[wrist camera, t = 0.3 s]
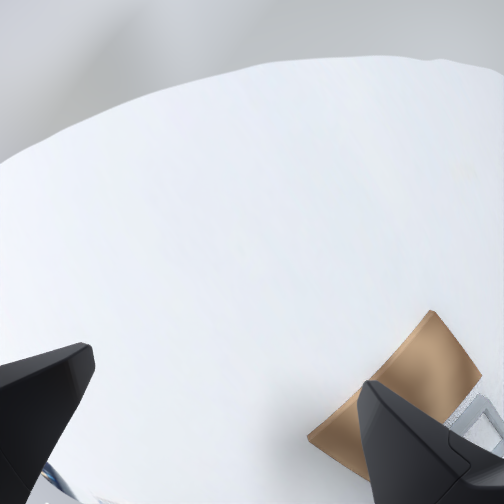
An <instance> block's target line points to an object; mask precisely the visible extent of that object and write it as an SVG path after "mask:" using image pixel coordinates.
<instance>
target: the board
mask: <svg viewBox="0 0 504 504" xmlns="http://www.w3.org/2000/svg"><path fill="white" fill-rule="evenodd" d="M481 377H482V374H481V373H480V372H479V370H478V369H477V367H476V366H475V364H474V363H473V361H472V360H471V359H470V357H469V356H468V354H467V353H466V352H465V350H464V349H463V347H462V346H461V345H460V343H459V342H458V341H457V339H456V338H455V337H454V335H453V334H452V333H451V331H450V330H449V329H448V327H447V326H446V325H445V324H444V322H443V321H442V320H441V318H440V317H439V316H438V315H437V313H436V312H435V311H431V310H429V312H428V313H427V314H426V315H425V317H424V318H423V319H422V321H421V322H420V323H419V324H418V325H417V327H416V328H415V329H414V330H413V332H412V333H411V334H410V335H409V336H408V338H407V339H406V340H405V341H404V342H403V343H402V345H401V346H400V347H399V348H398V349H397V350H396V351H395V353H394V354H393V355H392V356H391V357H390V358H389V359H388V360H387V361H386V362H385V364H384V365H383V366H382V367H381V368H380V369H379V370H378V371H377V372H376V373H375V374H374V375H373V376H372V377H371V378H370V379H369V380H377V381H379V382H380V383H382V384H383V385H385V386H386V387H388V388H389V389H391V390H392V391H393V392H395V393H396V394H398V395H399V396H401V397H402V398H404V399H405V400H407V401H408V402H410V403H411V404H413V405H414V406H416V407H417V408H419V409H420V410H422V411H423V412H425V413H426V414H428V415H429V416H431V417H432V418H434V419H435V420H437V421H438V422H440V423H441V424H443V423H444V422H445V421H446V420H447V419H448V417H449V416H450V415H451V414H452V413H453V412H454V411H455V409H456V408H457V407H458V406H459V405H460V404H461V402H462V401H463V400H464V399H465V397H466V396H467V395H468V394H469V392H470V391H471V390H472V389H473V387H474V386H475V385H476V383H477V382H478V381H479V379H480V378H481ZM361 389H362V387H361V388H360V389H359V390H358V391H357V392H356V393H355V394H354V395H353V396H352V397H351V398H350V399H349V400H348V401H347V402H346V403H344V404H343V405H342V406H341V407H340V408H339V409H338V410H337V411H336V412H335V413H333V414H332V415H331V416H330V417H329V418H328V419H327V420H325V421H324V422H323V423H322V424H321V425H320V426H318V427H317V428H316V429H315V430H314V431H312V432H311V433H310V434H309V435H307V437H308V440H309V442H310V443H312V444H313V445H315V446H316V447H317V448H319V449H320V450H322V451H323V452H325V453H326V454H327V455H329V456H330V457H332V458H333V459H335V460H336V461H338V462H339V463H341V464H342V465H344V466H345V467H347V468H348V469H350V470H352V471H353V472H355V473H356V474H358V475H359V476H361V477H363V478H364V479H366V480H368V481H369V482H370V478H369V474H368V469H367V465H366V461H365V456H364V452H363V448H362V443H361V436H360V427H359V419H358V411H357V400H358V397H359V394H360V391H361Z"/></svg>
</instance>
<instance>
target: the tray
mask: <svg viewBox="0 0 504 504" xmlns="http://www.w3.org/2000/svg"><path fill="white" fill-rule="evenodd" d="M483 412H484V413H485V414H486V415H487V417H488V418H489V420H490V421H491V422H492V424H493V425H494V427H495V428H496V430H497V431H498V432H499V434H500V435H501V437H502V438H503V439H502V440H501V441H500V443H499V444H498V445H497V446H496V447H495V449H494V450H493V451H492V452H491V453H493V454H495V455H497V456H499V457H501V458H502V457H503V456H504V422H503V420H502V419H501V417H500V415H499V414H498V412H497V411H496V409H495V408H494V406H493V405H492V403H491V402H490V400H489V399H488V398H486V397H484V396H483V395H481V394H478V395H477V396H476V398H475V399H474V400H473V401H472V403H471V404H470V405H469V406H468V408H467V409H466V410H465V411H464V412H463V414H462V415H461V416H460V417H459V418H458V419H457V420H456V422H455V423H454V424H453V425H452V426H451V427H450V428H449V430H452V431H453V432H455V433H457V434H458V435H460V436H461V437H463V435H464V434H465V433H466V432H467V431H468V430H469V429H470V428H471V426H472V425H473V424H474V423H475V422H476V420H477V419H478V418H479V417H480V416H481V414H482V413H483Z"/></svg>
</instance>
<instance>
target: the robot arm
mask: <svg viewBox="0 0 504 504" xmlns="http://www.w3.org/2000/svg"><path fill="white" fill-rule="evenodd" d="M94 371H95V361H94V355H93V350H92V347H91V346H90V345H89V344H85V343H82V342H80V343H76V344H73V345H70V346H66V347H63V348H60V349H56V350H53V351H50V352H46V353H43V354H40V355H36V356H33V357H29V358H26V359H22V360H19V361H15V362H12V363H8V364H5V365H1V366H0V504H25V503H26V501H27V499H28V497H29V495H30V493H31V492H30V491H32V489H33V487H34V485H35V483H36V481H37V479H38V477H39V475H40V473H41V471H42V469H43V467H44V466H45V464H46V462H47V460H48V458H49V456H50V454H51V453H52V451H53V449H54V447H55V445H56V443H57V442H58V440H59V438H60V436H61V435H62V433H63V431H64V429H65V428H66V426H67V424H68V422H69V421H70V419H71V417H72V416H73V414H74V412H75V410H76V409H77V407H78V405H79V403H80V401H81V399H82V397H83V395H84V393H85V390H86V388H87V386H88V384H89V382H90V380H91V377H92V375H93V373H94ZM357 411H358V419H359V427H360V436H361V443H362V448H363V452H364V456H365V461H366V465H367V469H368V474H369V478H370V483H371V487H372V492H373V497H374V501H375V504H504V459H503V458H501V457H499V456H497V455H495V454H493V453H491V452H489V451H487V450H485V449H483V448H481V447H479V446H477V445H475V444H473V443H472V442H470V441H468V440H466V439H465V438H463V437H461V436H460V435H458V434H457V433H455V432H453V431H452V430H449V428H447V427H446V426H444V425H443V424H441V423H440V422H438V421H437V420H435V419H434V418H432V417H431V416H429V415H428V414H426V413H425V412H423V411H422V410H420V409H419V408H417V407H416V406H414V405H413V404H411V403H410V402H408V401H407V400H405V399H404V398H402V397H401V396H399V395H398V394H396V393H395V392H393V391H392V390H391V389H389V388H388V387H386V386H385V385H383V384H382V383H380V382H379V381H377V380H366V381H365V382H364V383H363V386H362V389H361V391H360V394H359V397H358V400H357Z"/></svg>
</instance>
